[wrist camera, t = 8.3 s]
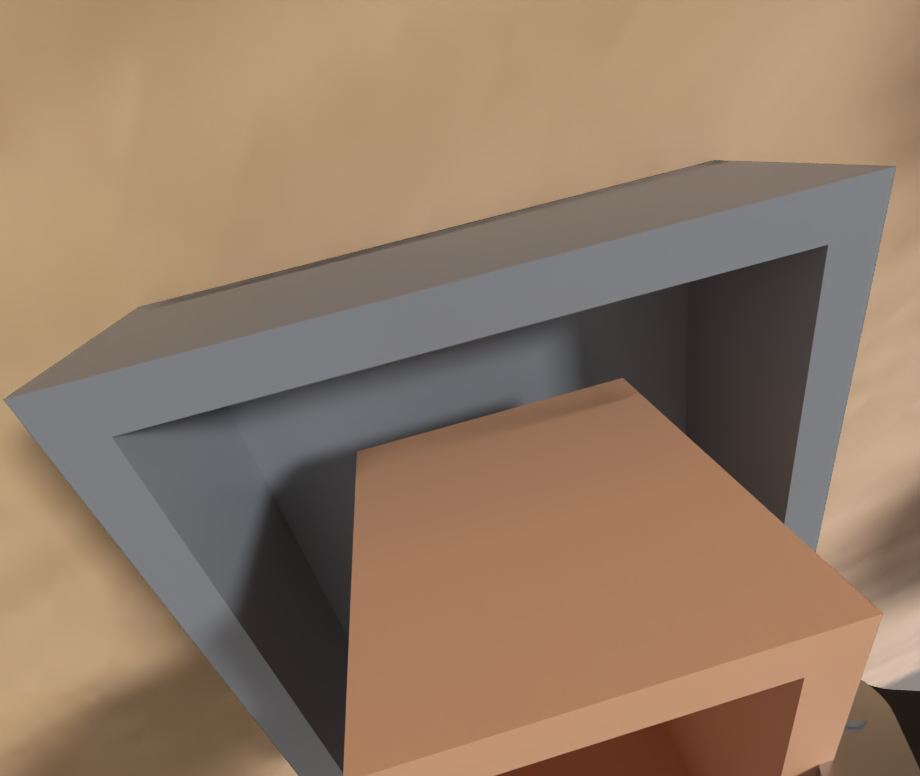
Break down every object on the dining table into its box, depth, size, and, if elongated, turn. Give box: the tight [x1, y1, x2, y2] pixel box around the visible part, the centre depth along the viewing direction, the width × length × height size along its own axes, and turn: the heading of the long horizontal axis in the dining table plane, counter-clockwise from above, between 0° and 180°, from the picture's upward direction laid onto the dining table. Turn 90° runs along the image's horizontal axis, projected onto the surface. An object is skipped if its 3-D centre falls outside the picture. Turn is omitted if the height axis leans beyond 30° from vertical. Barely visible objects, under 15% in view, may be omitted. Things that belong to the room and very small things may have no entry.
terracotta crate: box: [343, 378, 883, 776], centre depth 10 cm, size 6×9×6 cm, turn 12°
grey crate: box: [3, 160, 896, 776], centre depth 13 cm, size 14×16×4 cm
